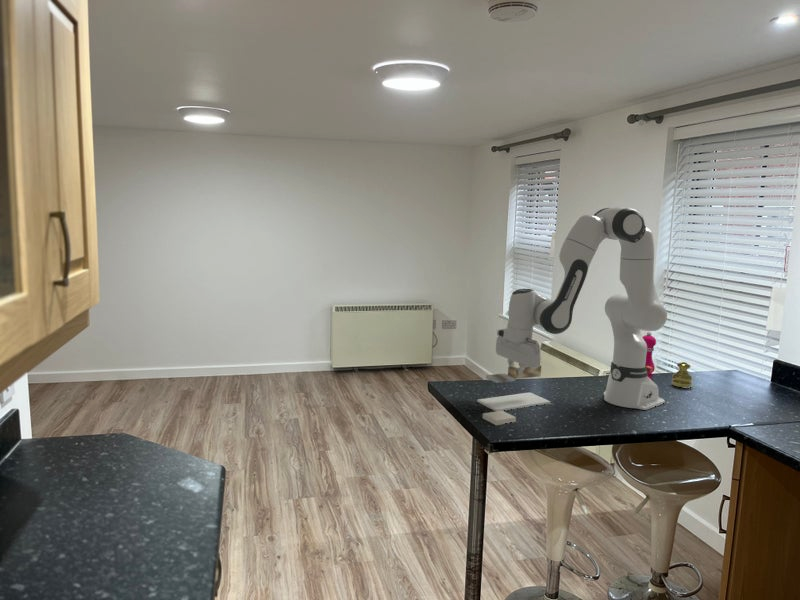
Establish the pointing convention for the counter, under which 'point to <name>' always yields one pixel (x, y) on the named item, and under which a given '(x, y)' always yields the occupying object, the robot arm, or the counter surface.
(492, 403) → the board
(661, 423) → the counter surface
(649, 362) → the pepper mill
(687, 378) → the gold ridged bell shape
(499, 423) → the tile
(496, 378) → the wooden handled scraper
